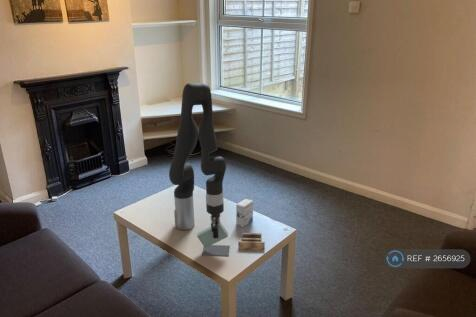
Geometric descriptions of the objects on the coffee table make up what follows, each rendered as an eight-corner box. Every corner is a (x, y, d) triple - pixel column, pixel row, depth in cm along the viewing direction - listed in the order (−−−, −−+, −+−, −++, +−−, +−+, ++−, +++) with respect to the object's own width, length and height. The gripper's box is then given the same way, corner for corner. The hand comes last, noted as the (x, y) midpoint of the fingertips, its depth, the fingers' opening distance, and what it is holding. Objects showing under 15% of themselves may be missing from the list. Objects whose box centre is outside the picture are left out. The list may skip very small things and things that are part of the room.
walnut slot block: (241, 243, 178) (241, 239, 177) (242, 237, 184) (242, 232, 183) (261, 244, 178) (261, 239, 177) (261, 237, 183) (261, 233, 182)
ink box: (245, 217, 201) (245, 197, 197) (253, 220, 199) (253, 200, 195) (235, 224, 195) (235, 204, 191) (243, 227, 192) (243, 206, 188)
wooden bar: (238, 249, 174) (238, 243, 173) (238, 248, 175) (238, 241, 174) (264, 250, 173) (264, 243, 172) (264, 248, 175) (264, 242, 174)
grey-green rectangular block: (196, 236, 170) (219, 224, 167) (197, 233, 172) (220, 221, 169) (205, 248, 172) (227, 236, 169) (206, 245, 174) (228, 233, 171)
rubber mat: (201, 255, 170) (201, 254, 170) (204, 245, 177) (204, 244, 177) (228, 256, 169) (228, 255, 169) (229, 246, 177) (229, 245, 176)
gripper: (208, 194, 171) (209, 228, 177) (204, 208, 158) (205, 244, 164) (224, 194, 171) (225, 228, 177) (222, 208, 158) (223, 244, 164)
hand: (216, 236), depth 171 cm, fingers closed on grey-green rectangular block, 2 cm apart
